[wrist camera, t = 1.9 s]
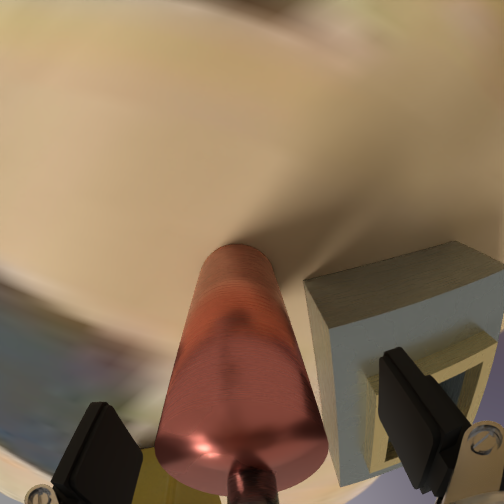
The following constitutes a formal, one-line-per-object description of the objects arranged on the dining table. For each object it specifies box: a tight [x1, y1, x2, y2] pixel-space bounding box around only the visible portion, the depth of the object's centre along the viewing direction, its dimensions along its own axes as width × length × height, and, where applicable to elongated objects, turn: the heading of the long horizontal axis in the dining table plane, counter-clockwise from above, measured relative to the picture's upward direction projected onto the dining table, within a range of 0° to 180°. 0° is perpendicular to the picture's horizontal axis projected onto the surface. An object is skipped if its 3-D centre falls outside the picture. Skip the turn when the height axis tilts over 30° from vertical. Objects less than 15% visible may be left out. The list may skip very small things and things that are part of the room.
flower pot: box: [132, 447, 221, 504], centre depth 20 cm, size 9×9×9 cm
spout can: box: [155, 244, 329, 504], centre depth 12 cm, size 5×5×15 cm
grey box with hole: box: [303, 241, 504, 487], centre depth 18 cm, size 16×12×8 cm
